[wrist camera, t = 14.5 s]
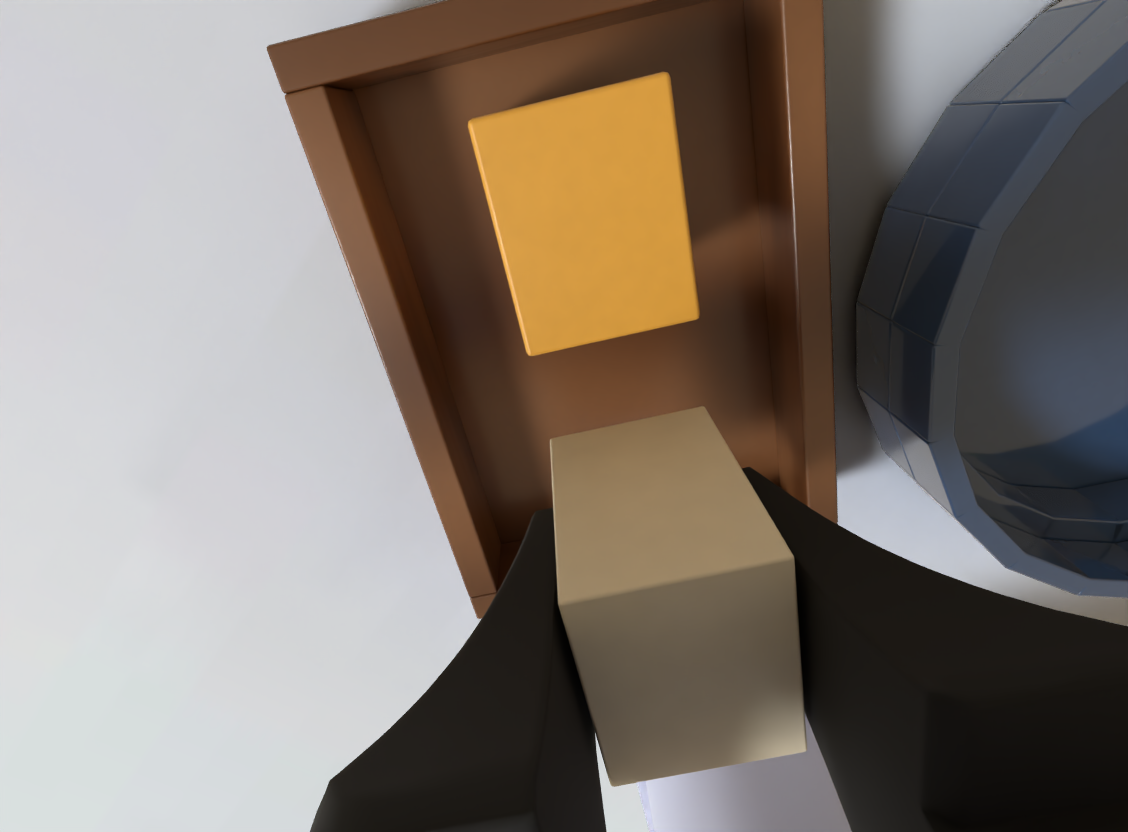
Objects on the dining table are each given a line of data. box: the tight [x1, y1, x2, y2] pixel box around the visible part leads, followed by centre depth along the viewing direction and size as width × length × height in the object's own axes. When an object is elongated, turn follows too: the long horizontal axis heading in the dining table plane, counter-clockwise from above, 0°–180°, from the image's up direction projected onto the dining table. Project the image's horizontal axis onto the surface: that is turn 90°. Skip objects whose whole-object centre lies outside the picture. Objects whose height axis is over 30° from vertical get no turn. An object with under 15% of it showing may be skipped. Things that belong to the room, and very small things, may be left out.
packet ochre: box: [468, 72, 700, 356], centre depth 12 cm, size 4×3×5 cm
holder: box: [267, 0, 838, 619], centre depth 15 cm, size 14×10×3 cm
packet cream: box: [550, 406, 807, 787], centre depth 11 cm, size 4×3×5 cm
